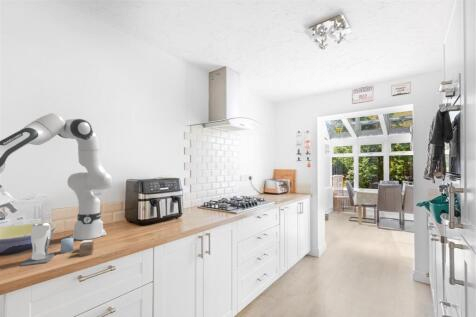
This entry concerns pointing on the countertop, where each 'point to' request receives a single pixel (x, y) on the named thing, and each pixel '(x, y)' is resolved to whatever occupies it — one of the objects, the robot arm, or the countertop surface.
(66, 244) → the slate-blue cylinder
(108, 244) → the countertop surface
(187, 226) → the countertop surface
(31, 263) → the charcoal mat
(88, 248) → the walnut cube
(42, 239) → the beer glass
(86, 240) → the pale grey block
